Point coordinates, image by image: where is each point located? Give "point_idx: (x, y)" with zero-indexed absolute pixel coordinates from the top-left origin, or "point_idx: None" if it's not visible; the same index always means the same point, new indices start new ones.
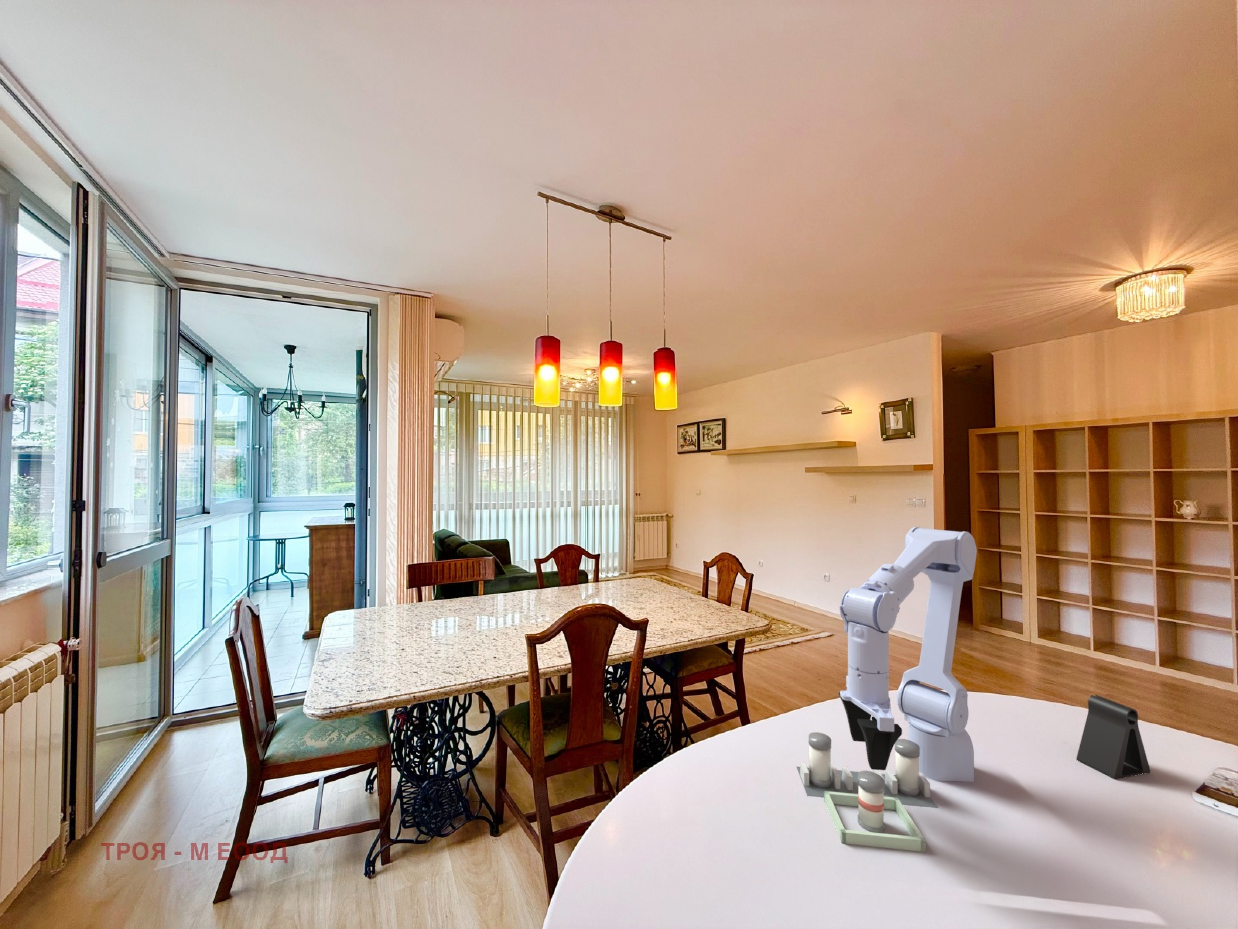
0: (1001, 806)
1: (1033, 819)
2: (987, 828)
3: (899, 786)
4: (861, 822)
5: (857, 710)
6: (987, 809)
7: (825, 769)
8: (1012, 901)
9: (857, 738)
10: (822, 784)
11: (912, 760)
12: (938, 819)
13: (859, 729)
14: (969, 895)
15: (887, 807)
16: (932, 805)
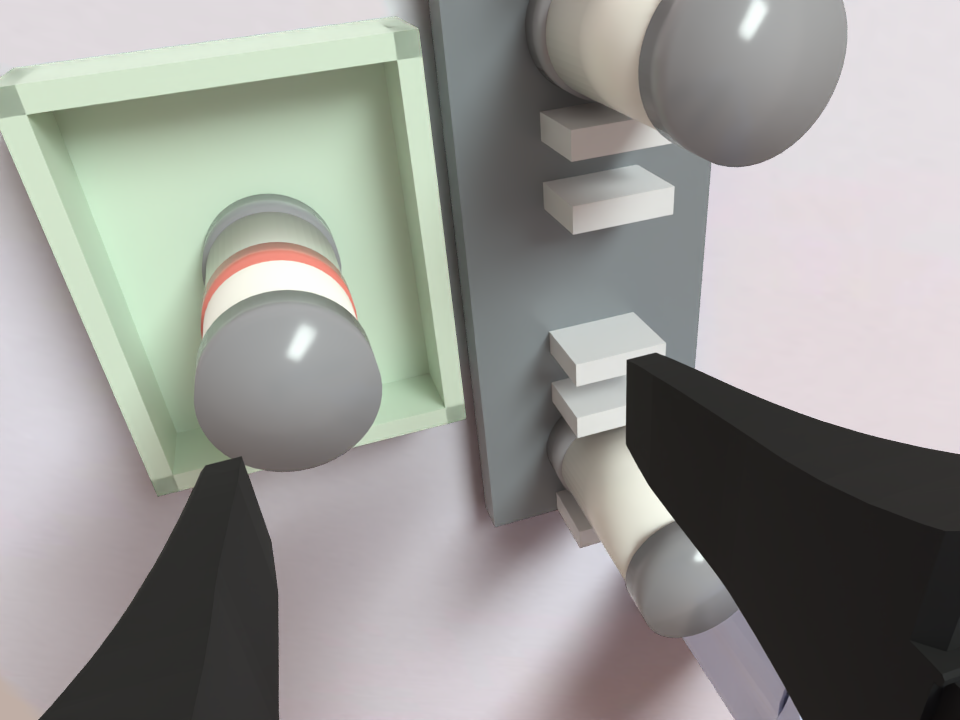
0: (581, 658)
1: (534, 713)
2: (454, 622)
3: None
4: (229, 222)
5: (803, 577)
6: (557, 629)
7: (579, 69)
8: (73, 650)
9: (638, 400)
10: (535, 33)
11: (623, 569)
12: (461, 504)
13: (679, 461)
14: (20, 551)
15: (430, 355)
16: (504, 511)
